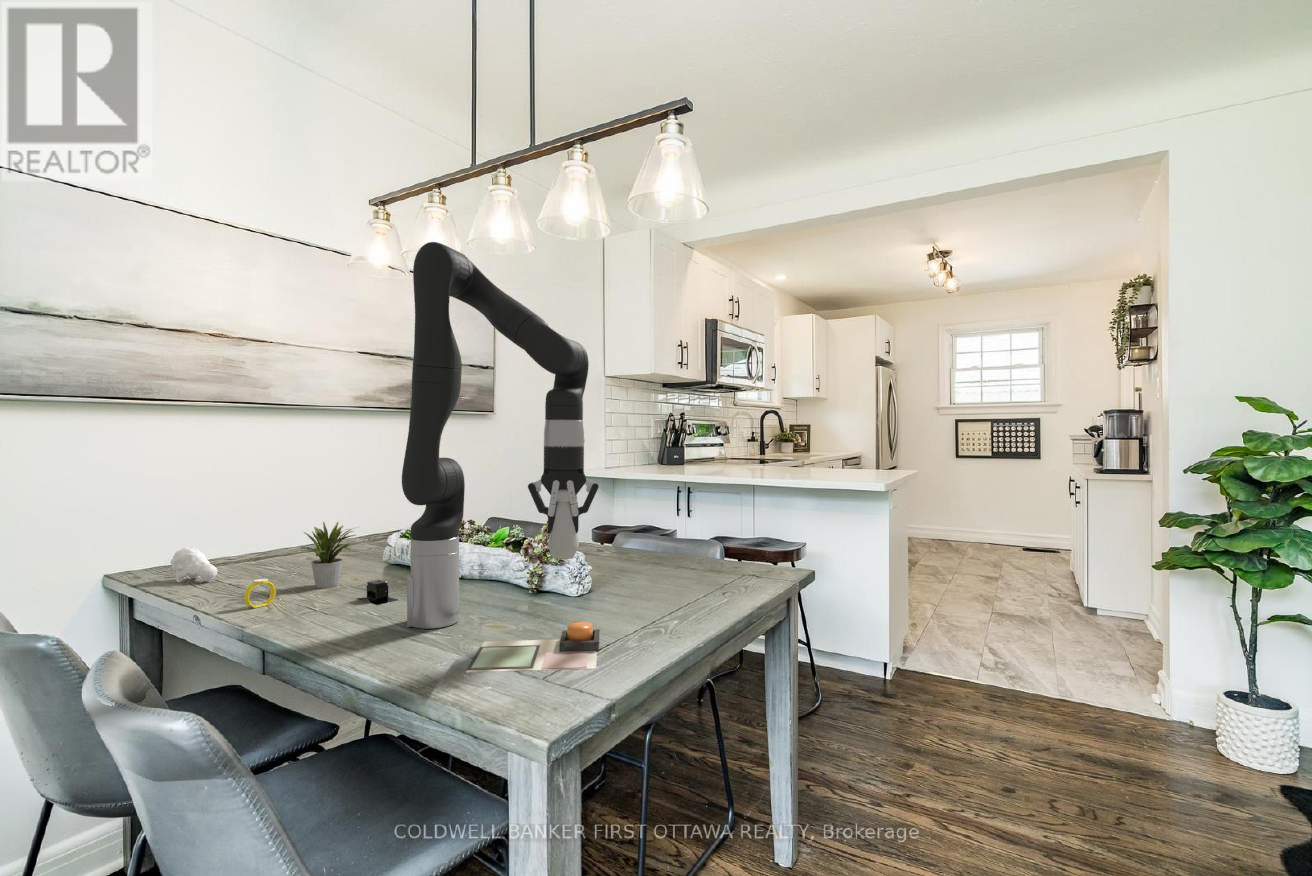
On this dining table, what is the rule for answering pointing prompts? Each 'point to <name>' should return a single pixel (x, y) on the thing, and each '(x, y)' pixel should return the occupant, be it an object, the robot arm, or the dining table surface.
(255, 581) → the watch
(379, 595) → the black short block
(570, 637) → the button
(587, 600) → the dining table surface
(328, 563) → the house plant
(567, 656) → the picture board
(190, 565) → the white fluffy lump
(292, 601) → the dining table surface
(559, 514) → the salt shaker
